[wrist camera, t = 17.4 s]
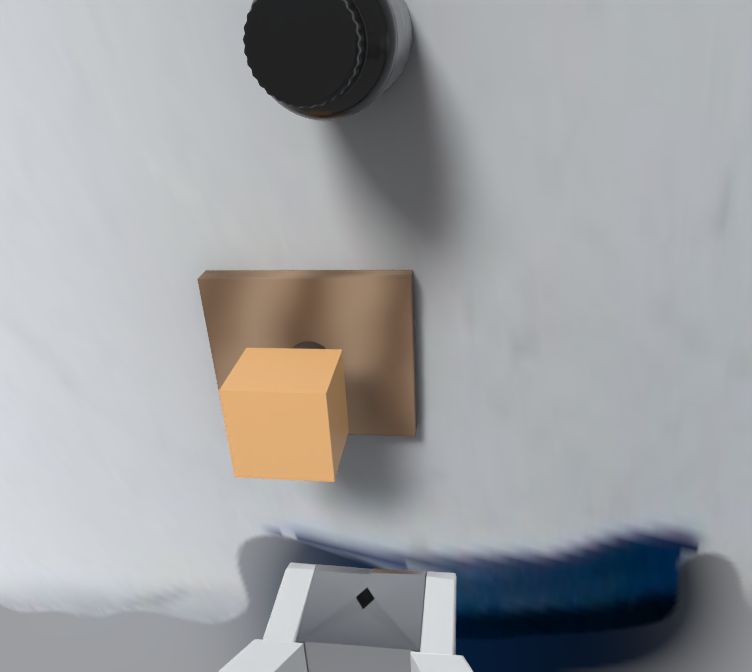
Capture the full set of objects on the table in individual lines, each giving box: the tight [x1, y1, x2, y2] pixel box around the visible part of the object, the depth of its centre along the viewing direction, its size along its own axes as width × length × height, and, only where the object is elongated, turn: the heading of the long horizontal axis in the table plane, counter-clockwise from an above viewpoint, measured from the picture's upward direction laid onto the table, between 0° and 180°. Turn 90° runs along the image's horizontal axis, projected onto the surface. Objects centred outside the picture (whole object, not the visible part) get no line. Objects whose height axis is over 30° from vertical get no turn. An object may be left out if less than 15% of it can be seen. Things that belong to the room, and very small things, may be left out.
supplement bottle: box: [243, 0, 412, 121], centre depth 31 cm, size 7×7×12 cm
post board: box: [198, 270, 417, 436], centre depth 42 cm, size 14×12×10 cm
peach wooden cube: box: [219, 348, 349, 482], centre depth 39 cm, size 6×6×5 cm
